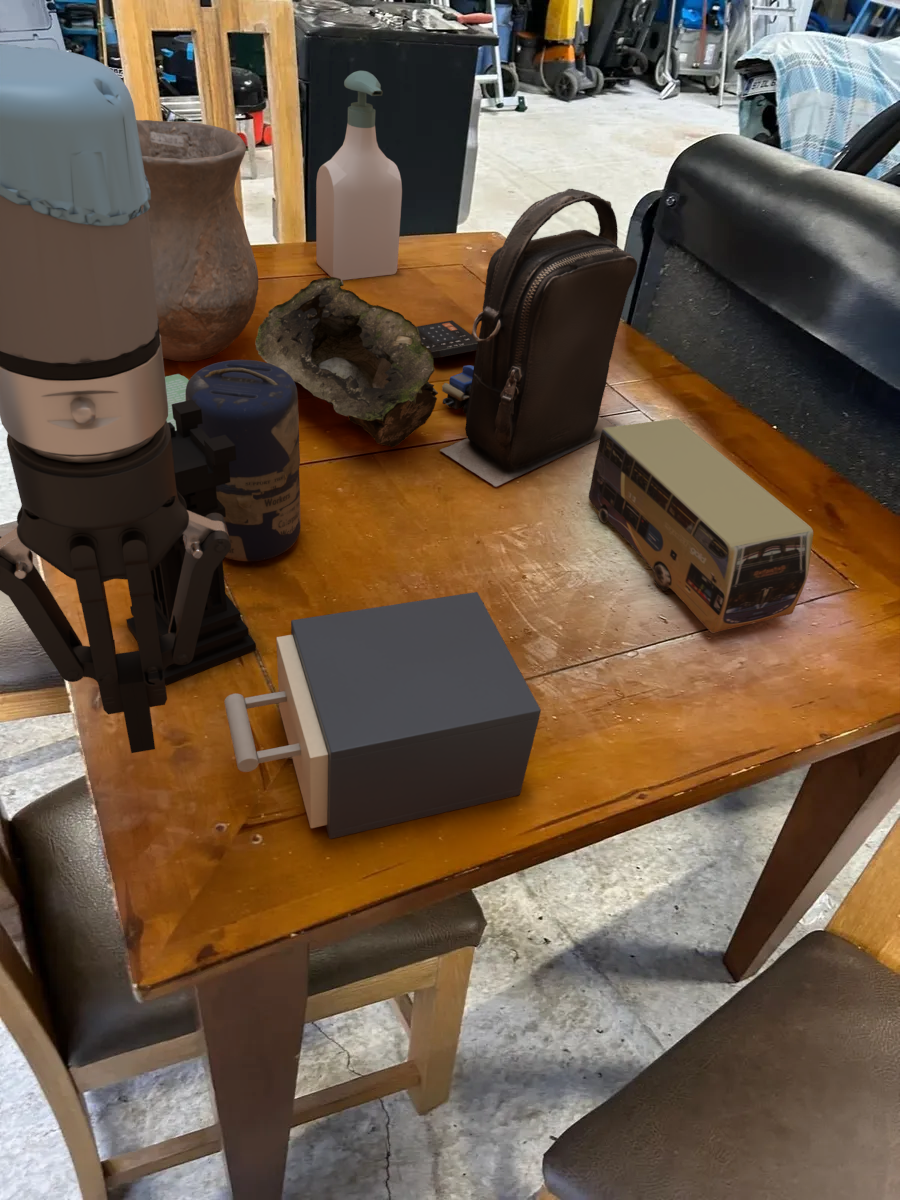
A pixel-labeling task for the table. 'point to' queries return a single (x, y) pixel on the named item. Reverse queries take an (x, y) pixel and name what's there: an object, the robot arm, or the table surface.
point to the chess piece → (196, 481)
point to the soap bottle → (358, 197)
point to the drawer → (287, 731)
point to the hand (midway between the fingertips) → (141, 735)
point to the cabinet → (415, 710)
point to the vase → (197, 237)
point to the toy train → (459, 389)
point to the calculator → (446, 339)
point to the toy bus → (701, 523)
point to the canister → (254, 452)
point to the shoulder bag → (544, 342)
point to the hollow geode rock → (353, 358)
